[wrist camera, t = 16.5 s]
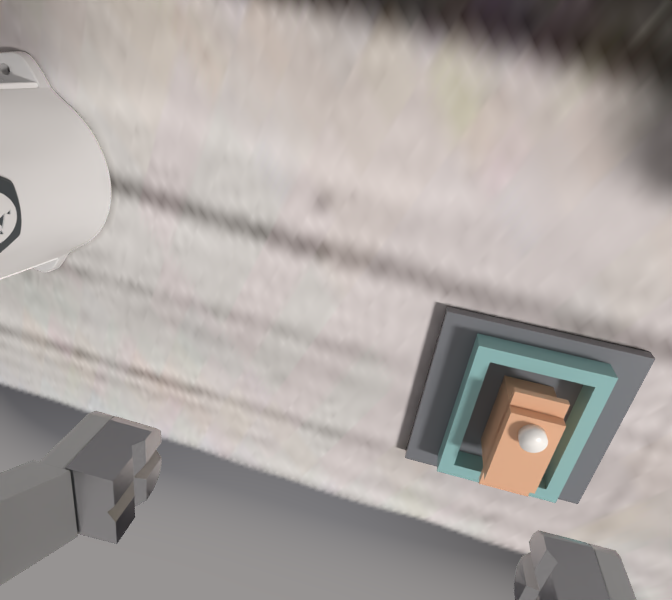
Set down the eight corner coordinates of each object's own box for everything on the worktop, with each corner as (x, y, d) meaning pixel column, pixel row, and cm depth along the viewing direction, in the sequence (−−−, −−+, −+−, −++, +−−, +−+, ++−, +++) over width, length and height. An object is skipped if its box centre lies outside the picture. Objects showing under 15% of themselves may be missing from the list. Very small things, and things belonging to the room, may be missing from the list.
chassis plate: (405, 450, 48) (403, 473, 45) (447, 306, 40) (447, 322, 38) (575, 495, 46) (583, 522, 43) (650, 352, 38) (665, 373, 36)
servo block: (476, 449, 45) (480, 499, 39) (509, 362, 40) (517, 405, 35) (521, 461, 44) (530, 513, 39) (559, 374, 40) (575, 419, 35)
